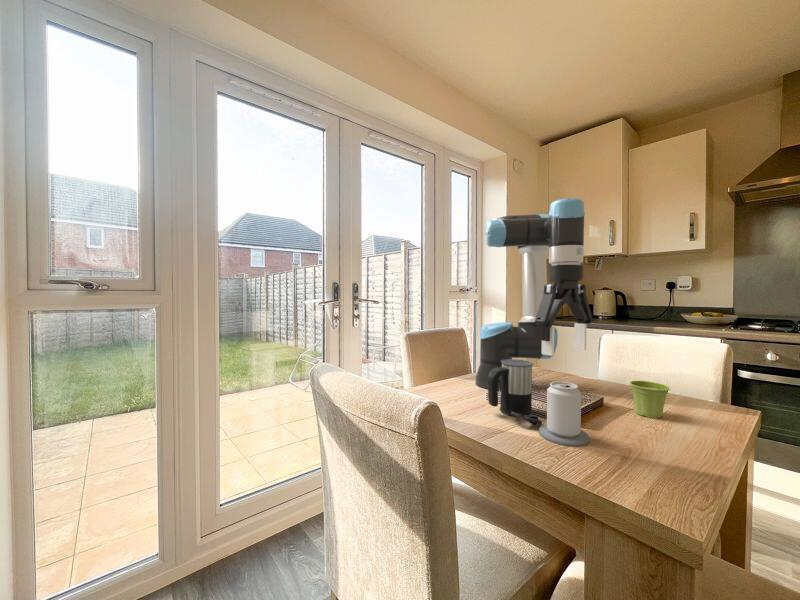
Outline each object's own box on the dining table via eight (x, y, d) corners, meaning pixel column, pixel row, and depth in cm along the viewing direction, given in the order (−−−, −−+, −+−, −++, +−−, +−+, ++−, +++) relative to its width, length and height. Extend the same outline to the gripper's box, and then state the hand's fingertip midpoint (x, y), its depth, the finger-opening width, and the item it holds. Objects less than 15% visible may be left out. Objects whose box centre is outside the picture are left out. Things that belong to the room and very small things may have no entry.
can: (585, 432, 83) (585, 384, 83) (574, 442, 78) (574, 390, 78) (553, 424, 89) (554, 378, 88) (541, 432, 84) (542, 384, 83)
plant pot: (655, 409, 102) (656, 380, 102) (677, 421, 92) (678, 390, 92) (622, 408, 103) (622, 380, 102) (641, 420, 93) (641, 389, 93)
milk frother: (512, 404, 107) (513, 357, 106) (561, 419, 94) (562, 366, 93) (482, 413, 98) (482, 363, 98) (531, 432, 86) (532, 374, 85)
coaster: (530, 433, 85) (530, 429, 85) (556, 423, 91) (556, 420, 91) (572, 450, 76) (572, 447, 76) (598, 438, 82) (598, 435, 82)
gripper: (548, 261, 72) (547, 360, 73) (608, 265, 86) (606, 349, 87) (519, 263, 79) (518, 354, 79) (579, 267, 92) (578, 344, 93)
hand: (564, 351), depth 83 cm, fingers open, 13 cm apart
